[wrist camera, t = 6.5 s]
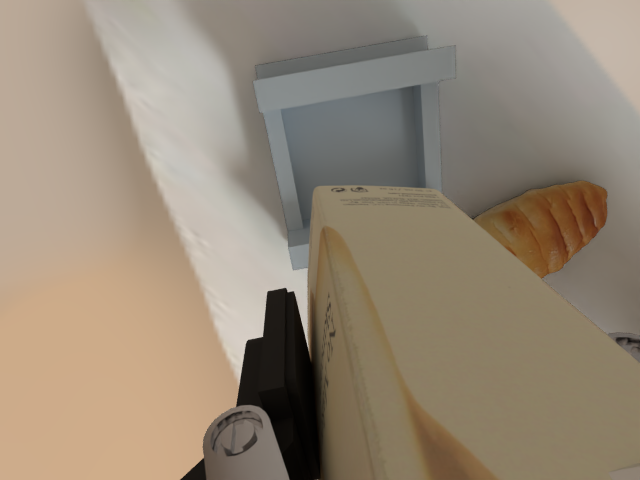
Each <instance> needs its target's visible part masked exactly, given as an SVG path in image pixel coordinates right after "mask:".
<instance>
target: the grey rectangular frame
mask: <svg viewBox="0 0 640 480" xmlns="http://www.w3.org/2000/svg"><path fill="white" fill-rule="evenodd" d="M255 68H256V73H257V78H258V80H254V81H253V85H254V90H255V94H256V99H257V104H258V108H259V113H262V112H263V115H264V120H265V125H266V129H267V134H268V139H269V144H270V148H271V153H272V158H273V163H274V168H275V172H276V177H277V182H278V187H279V191H280V196H281V201H282V206H283V210H284V215H285V220H286V225H287V229H288V249H289V254H290V258H291V263H292V268H293V270H297V269H303V268H308V258H309V238H310V224H311V212H312V199H313V191H314V189H315V188H316V187H318V186H346V185H359V186H390V187H411V188H430V189H436V190H438V191H440V192H441V193H442V176H441V148H440V119H439V90H438V81H443V80H449V79H455V78H456V53H455V45H454V46H448V47H442V48H436V49H430V50H428V43H427V36H421V37H415V38H410V39H404V40H398V41H392V42H387V43H381V44H375V45H370V46H364V47H358V48H352V49H347V50H341V51H335V52H330V53H324V54H318V55H312V56H307V57H301V58H295V59H290V60H284V61H278V62H272V63H267V64H261V65H255Z"/></svg>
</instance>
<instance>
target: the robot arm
mask: <svg viewBox="0 0 640 480" xmlns="http://www.w3.org/2000/svg"><path fill="white" fill-rule="evenodd" d="M607 335H608V336H609V337H610V338H611V339H613V340H614V341H615V342H616V343H617V344H618V345H619V346H621V347H622V348H623V349H624V350H625V351H626V352H628V353H629V354H630V355H631V356H632V357H633V358H635V359H636V360H637V361H638V362H639V363H640V335H636V334H631V333H609V334H607ZM203 453H204V458H203V459H202V460H201V461H200V462H199V463H198V464H197V465H196V466H195V467H193V468H192V469H191V470H190V471H189V472H188V473H187V474H186V475H185V476H184V477H183V478H182V479H181V480H318V479H321V475H320V463H319V451H318V438H317V425H316V411H315V398H314V386H313V375H312V364H311V359H310V355H309V351H308V347H307V343H306V339H305V334H304V330H303V326H302V322H301V318H300V314H299V309H298V305H297V301H296V297H295V293H294V291H293V292H287V289H286V288H283V289H278V290H273V291H268V292H267V301H266V312H265V322H264V333H263V337H261V338H256V339H251V340H248V341H247V343H246V347H245V354H244V360H243V367H242V373H241V379H240V386H239V393H238V399H237V405H236V407H235V408H231V409H230V410H228V411H226V412H224V413H222V414H221V415H220V416H219V417H218V418H217V419H215V420H214V421H213V423H212V424H211V425H210V426H209V428H208V429H207V431H206V433H205V436H204V439H203ZM608 473H609V475H610V477H611V478H612V480H640V463H637V464H634V465H630V466H627V467H624V468H620V469H617V470H614V471H611V472H608Z"/></svg>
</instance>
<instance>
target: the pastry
mask: <svg viewBox="0 0 640 480" xmlns="http://www.w3.org/2000/svg"><path fill="white" fill-rule="evenodd" d="M606 199H607V191H606V190H605V189H604V188H602V187H600V186H597V185H595V184H592V183H590V182H587V181H576V182H573V183H566V184H563V185H553V186H550V187H546V188H541V189H530V190H528V191H526V192H525V193H524V194H522V195H521V196H517V197H515V198H513V199H511V200H508V201H506V202H504V203H501V204H498V205H496V206H494V207H492V208H490V209H489V210H487V211H485V212H483V213H482V214H480V215H479V216H477V217H475V219H474V220H473V221H475V222H476V223H477V224H478V225H479V226H480V227H481V228H483V229H484V230H485V231H486V232H487V233H489V234H490V235H491V236H492V237H493V238H494V239H496V240H497V241H498V242H499V243H500V244H501V245H502V246H504V247H505V248H506V249H507V250H508V251H509V252H511V253H512V254H513V255H514V256H516V257H517V258H518V259H519V260H520V261H521V262H523V263H524V264H525V265H526V266H527V267H528V268H529V269H531V270H532V271H533V272H534V273H535V274H536V275H537V276H539V277H540V278H541V279H542V278H543V277H544V276H545V275H547V274H549V273H553V272H557V271H559V270H560V269H561V268H562V267H563V266H564V264H565V263H566V262H568V261H569V260H570V259H571V257H572V256H573V255H574V254H575V253H577V252H578V251H579V250H581V248H582V247H584V246H586V245H587V244H588V243H589V242H590V240H591V239H592V238H594V237H595V236H596V234H597V233H598V231H599V230H600V229H601V228H602V227H603V226H604V225H605V222H606V218H607V203H606Z"/></svg>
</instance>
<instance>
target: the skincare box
mask: <svg viewBox="0 0 640 480" xmlns="http://www.w3.org/2000/svg"><path fill="white" fill-rule="evenodd" d="M308 345H309V355H310V359H311V364H312V375H313V386H314V398H315V411H316V425H317V438H318V451H319V463H320V475H321V479H318V480H612V478H611V477H610V475H609V473H608V472H611V471H614V470H617V469H620V468H624V467H627V466H630V465H634V464H637V463H640V363H639V362H638V361H637V360H636V359H635V358H633V357H632V356H631V355H630V354H629V353H628V352H626V351H625V350H624V349H623V348H622V347H621V346H619V345H618V344H617V343H616V342H615V341H614V340H613V339H611V338H610V337H609V336H608V335H607V334H606V333H605V332H603V331H602V330H601V329H600V328H598V327H597V326H596V325H595V324H594V323H593V322H592V321H590V320H589V319H588V318H587V317H586V316H584V315H583V314H582V313H581V312H580V311H579V310H577V309H576V308H575V307H574V306H573V305H571V304H570V303H569V302H568V301H566V300H565V299H564V298H563V297H562V296H561V295H559V294H558V293H557V292H556V291H555V290H554V289H552V288H551V287H550V286H549V285H548V284H547V283H546V282H544V281H543V280H542V279H541V278H540V277H539V276H537V275H536V274H535V273H534V272H533V271H532V270H531V269H529V268H528V267H527V266H526V265H525V264H524V263H523V262H521V261H520V260H519V259H518V258H517V257H516V256H514V255H513V254H512V253H511V252H509V251H508V250H507V249H506V248H505V247H504V246H502V245H501V244H500V243H499V242H498V241H497V240H496V239H494V238H493V237H492V236H491V235H490V234H489V233H487V232H486V231H485V230H484V229H483V228H481V227H480V226H479V225H478V224H477V223H476V222H475V221H473V220H472V219H471V218H470V217H469V216H467V215H466V214H465V213H464V212H463V211H462V210H461V209H460V208H458V207H457V206H456V205H455V204H454V203H452V202H451V201H450V200H449V199H448V198H446V197H445V196H444V195H443V194H442V193H441V192H440V191H438V190H436V189H430V188H411V187H390V186H359V185H346V186H318V187H316V188H315V189H314V191H313V199H312V212H311V224H310V238H309V258H308Z"/></svg>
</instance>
